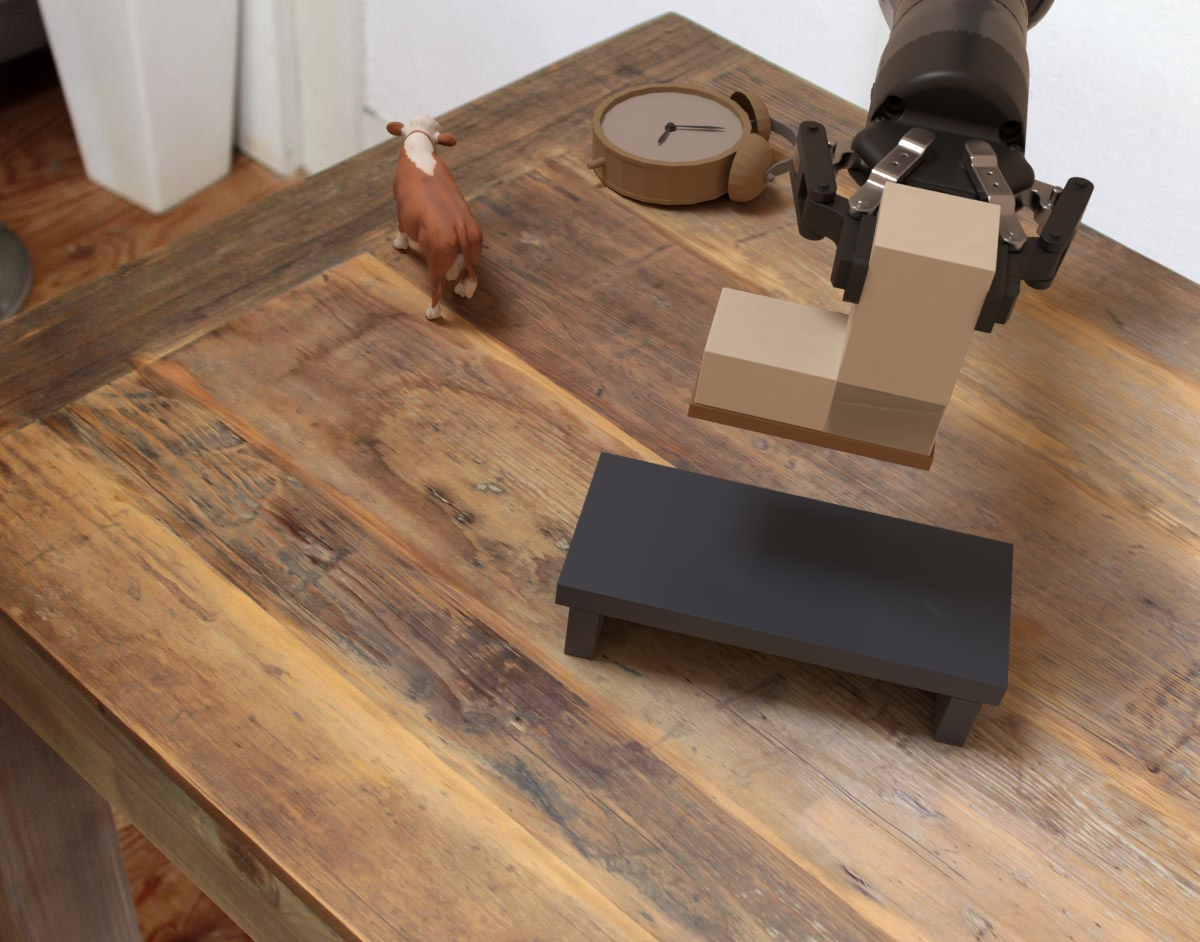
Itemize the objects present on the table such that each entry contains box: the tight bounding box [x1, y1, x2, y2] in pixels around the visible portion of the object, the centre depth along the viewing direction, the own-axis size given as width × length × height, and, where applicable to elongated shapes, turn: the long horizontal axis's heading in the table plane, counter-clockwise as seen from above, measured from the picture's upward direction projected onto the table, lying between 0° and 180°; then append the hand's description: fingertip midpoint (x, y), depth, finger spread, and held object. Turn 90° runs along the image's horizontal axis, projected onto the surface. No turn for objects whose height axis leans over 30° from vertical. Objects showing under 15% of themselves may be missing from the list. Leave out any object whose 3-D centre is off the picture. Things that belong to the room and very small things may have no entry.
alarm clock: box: [586, 82, 798, 206], centre depth 106 cm, size 11×5×15 cm
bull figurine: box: [385, 114, 484, 320], centre depth 93 cm, size 4×14×8 cm, turn 16°
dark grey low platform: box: [554, 451, 1014, 748], centre depth 76 cm, size 22×10×5 cm, turn 77°
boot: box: [686, 181, 1001, 472], centre depth 66 cm, size 11×5×11 cm, turn 77°
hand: (922, 299), depth 62 cm, fingers closed on boot, 5 cm apart
